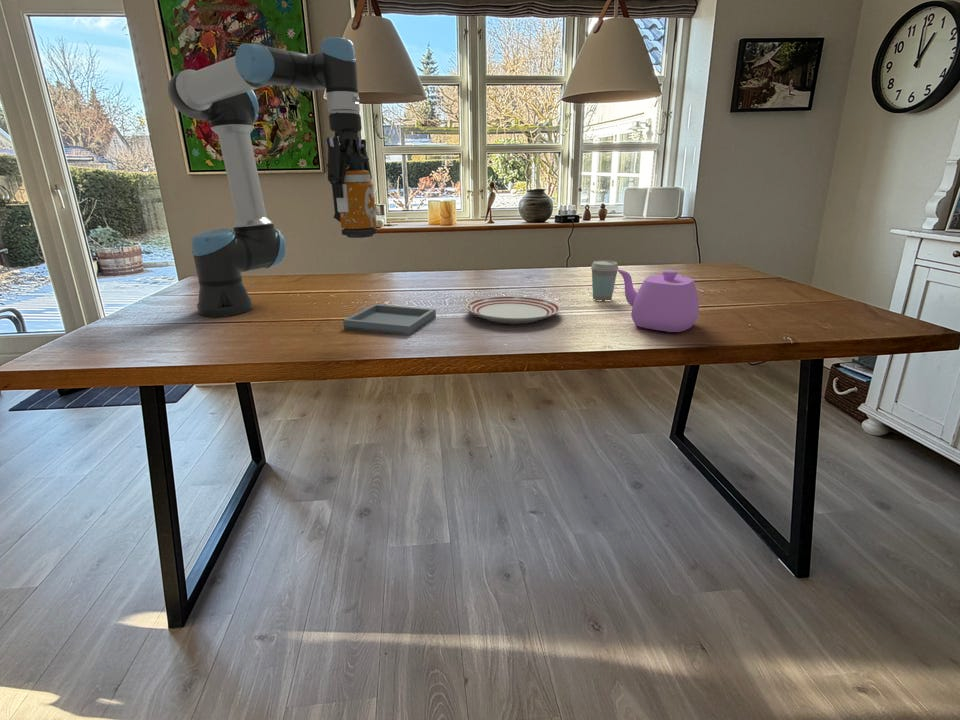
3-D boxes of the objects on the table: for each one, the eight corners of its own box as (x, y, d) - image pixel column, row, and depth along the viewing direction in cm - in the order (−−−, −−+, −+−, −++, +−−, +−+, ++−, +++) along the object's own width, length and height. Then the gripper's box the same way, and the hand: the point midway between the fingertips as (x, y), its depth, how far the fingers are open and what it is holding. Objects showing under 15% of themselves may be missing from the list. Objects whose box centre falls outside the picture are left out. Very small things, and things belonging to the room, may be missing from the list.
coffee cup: (614, 303, 163) (617, 265, 159) (586, 301, 166) (589, 264, 162) (616, 297, 171) (620, 261, 167) (590, 295, 173) (593, 259, 169)
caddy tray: (343, 328, 140) (343, 319, 139) (375, 312, 155) (375, 304, 154) (409, 335, 134) (409, 326, 133) (435, 317, 150) (435, 309, 149)
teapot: (706, 320, 147) (714, 266, 141) (685, 339, 130) (694, 280, 125) (627, 308, 159) (632, 258, 153) (600, 324, 143) (604, 270, 137)
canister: (368, 238, 130) (361, 152, 123) (328, 238, 132) (318, 153, 125) (382, 234, 138) (376, 153, 131) (344, 233, 141) (336, 154, 134)
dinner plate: (490, 300, 169) (490, 290, 168) (571, 309, 158) (572, 299, 157) (448, 322, 146) (448, 310, 145) (540, 335, 135) (541, 322, 134)
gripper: (331, 108, 115) (342, 214, 122) (380, 116, 134) (387, 207, 142) (303, 110, 117) (315, 213, 125) (355, 117, 136) (363, 207, 144)
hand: (354, 210), depth 133 cm, fingers closed on canister, 9 cm apart
